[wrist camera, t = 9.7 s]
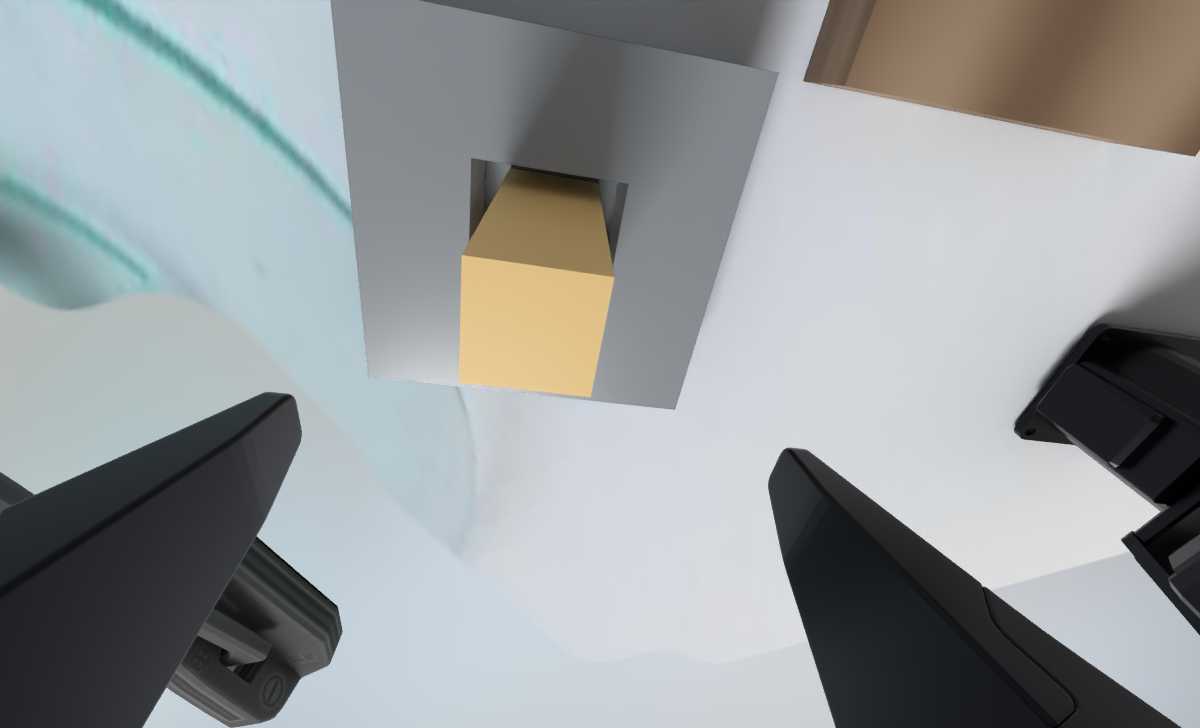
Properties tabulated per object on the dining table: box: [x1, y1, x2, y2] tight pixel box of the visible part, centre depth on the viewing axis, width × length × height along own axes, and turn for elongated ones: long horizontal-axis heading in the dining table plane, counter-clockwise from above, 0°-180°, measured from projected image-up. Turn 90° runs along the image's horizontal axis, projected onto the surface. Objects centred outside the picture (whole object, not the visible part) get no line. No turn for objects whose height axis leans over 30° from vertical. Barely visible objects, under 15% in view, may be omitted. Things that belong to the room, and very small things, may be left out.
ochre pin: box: [459, 168, 615, 397], centre depth 15 cm, size 3×3×9 cm
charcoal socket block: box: [331, 0, 779, 410], centre depth 17 cm, size 12×12×3 cm
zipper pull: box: [0, 473, 342, 728], centre depth 24 cm, size 9×7×25 cm
